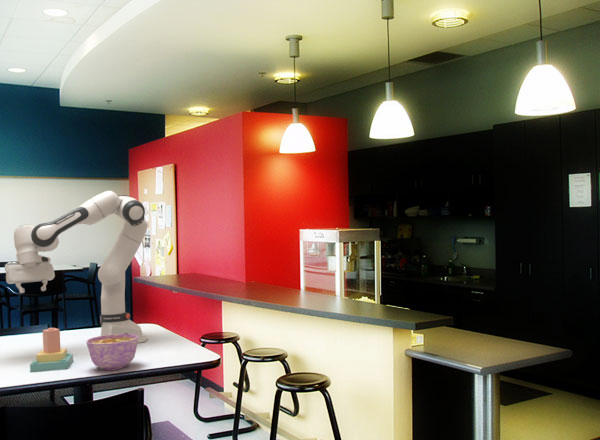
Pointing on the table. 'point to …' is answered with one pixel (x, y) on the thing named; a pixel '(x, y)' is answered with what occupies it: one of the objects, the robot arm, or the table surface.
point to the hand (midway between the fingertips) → (33, 291)
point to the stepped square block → (51, 361)
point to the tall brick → (51, 340)
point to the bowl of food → (112, 350)
